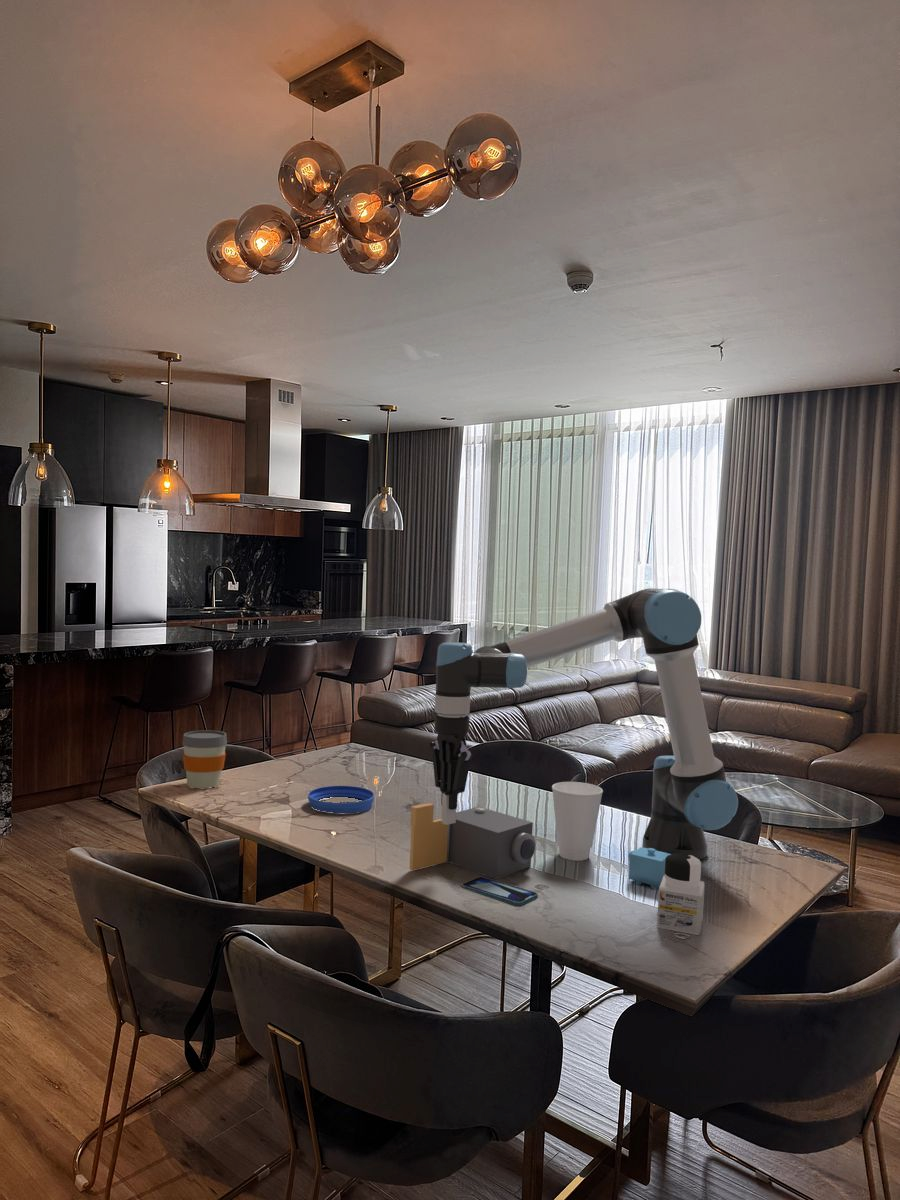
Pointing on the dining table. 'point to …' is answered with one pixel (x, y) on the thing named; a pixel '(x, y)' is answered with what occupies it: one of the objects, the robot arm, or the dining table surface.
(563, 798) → the cup
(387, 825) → the dining table surface
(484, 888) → the smartphone
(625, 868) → the dining table surface
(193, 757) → the reusable coffee cup
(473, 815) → the case
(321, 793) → the blue flat round ring
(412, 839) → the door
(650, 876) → the teapot
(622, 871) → the dining table surface
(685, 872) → the container
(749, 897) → the dining table surface
